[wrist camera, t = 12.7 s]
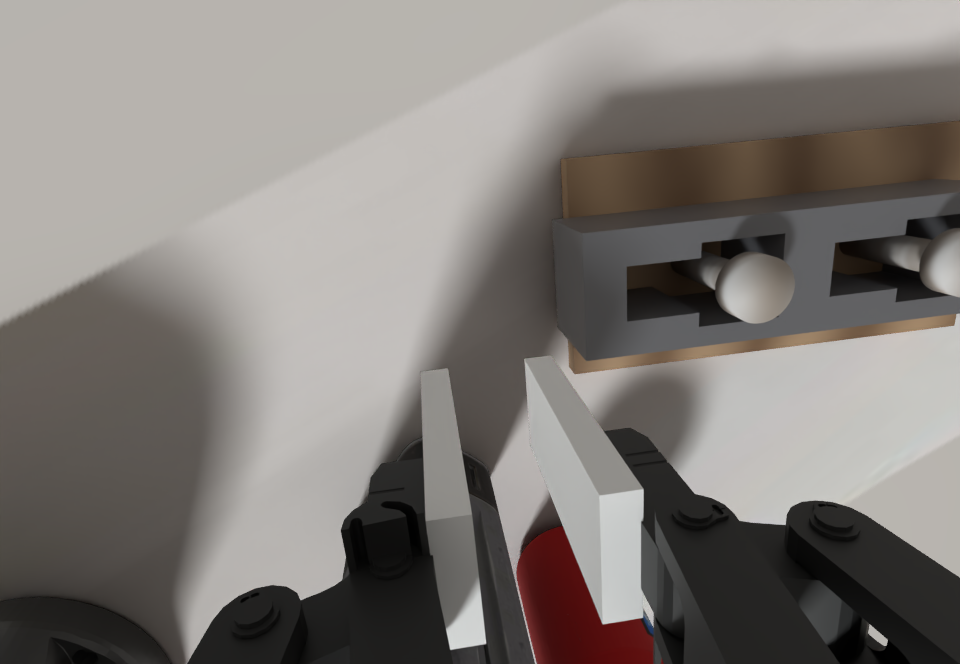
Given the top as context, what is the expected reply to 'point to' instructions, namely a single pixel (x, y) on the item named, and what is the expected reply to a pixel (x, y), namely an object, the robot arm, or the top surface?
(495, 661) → the electronic device
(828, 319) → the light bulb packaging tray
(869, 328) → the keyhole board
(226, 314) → the top surface
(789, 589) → the robot arm
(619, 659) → the beverage can
